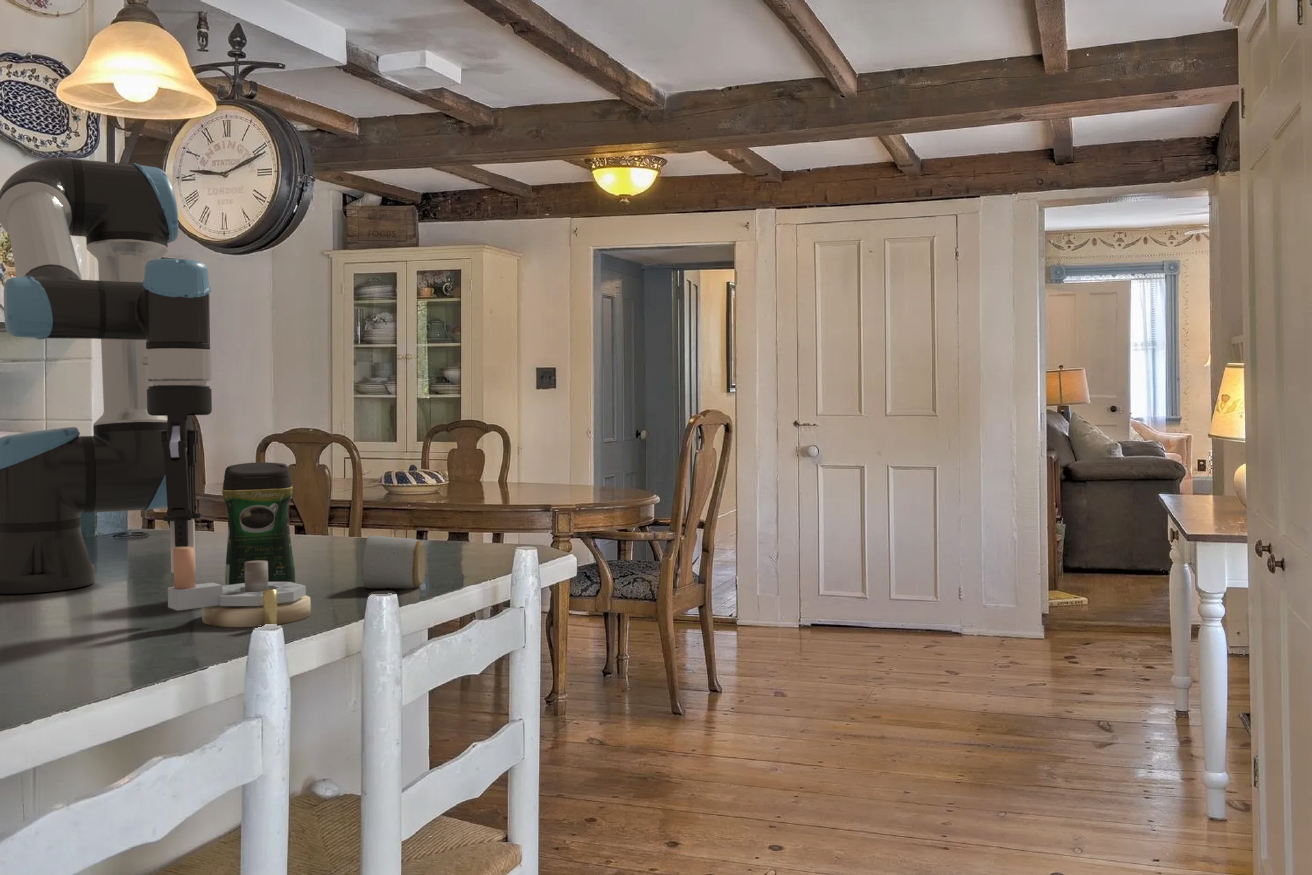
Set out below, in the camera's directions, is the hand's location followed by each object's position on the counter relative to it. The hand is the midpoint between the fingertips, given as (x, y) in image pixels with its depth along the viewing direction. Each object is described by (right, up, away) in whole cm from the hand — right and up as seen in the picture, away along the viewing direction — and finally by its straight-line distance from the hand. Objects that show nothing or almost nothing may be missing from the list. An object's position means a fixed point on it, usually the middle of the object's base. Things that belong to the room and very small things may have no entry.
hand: (183, 571), depth 146 cm
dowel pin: (+13, -6, -5) cm, 15 cm away
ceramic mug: (+21, -5, +25) cm, 33 cm away
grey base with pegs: (+7, -4, -1) cm, 8 cm away
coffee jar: (+3, -6, +21) cm, 22 cm away
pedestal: (+9, -6, +1) cm, 11 cm away
